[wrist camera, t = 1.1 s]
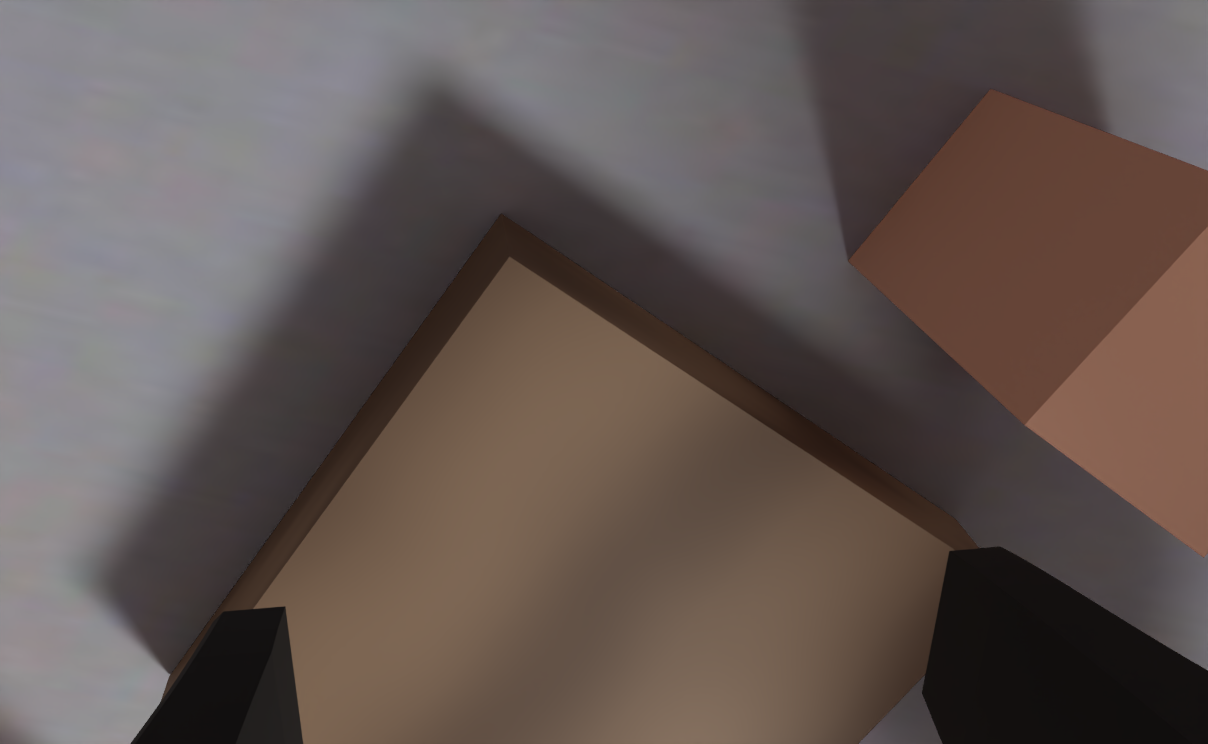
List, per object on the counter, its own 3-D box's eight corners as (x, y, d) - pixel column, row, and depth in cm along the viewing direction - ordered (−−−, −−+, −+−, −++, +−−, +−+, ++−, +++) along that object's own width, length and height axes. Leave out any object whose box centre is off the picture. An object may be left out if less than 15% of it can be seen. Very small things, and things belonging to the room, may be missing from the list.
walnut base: (955, 519, 24) (1009, 586, 22) (624, 876, 27) (641, 967, 25) (501, 213, 20) (509, 256, 17) (169, 676, 23) (139, 764, 20)
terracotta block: (1127, 209, 21) (1415, 348, 15) (987, 366, 22) (1203, 557, 16) (990, 88, 20) (1246, 184, 14) (848, 261, 21) (1023, 424, 15)
